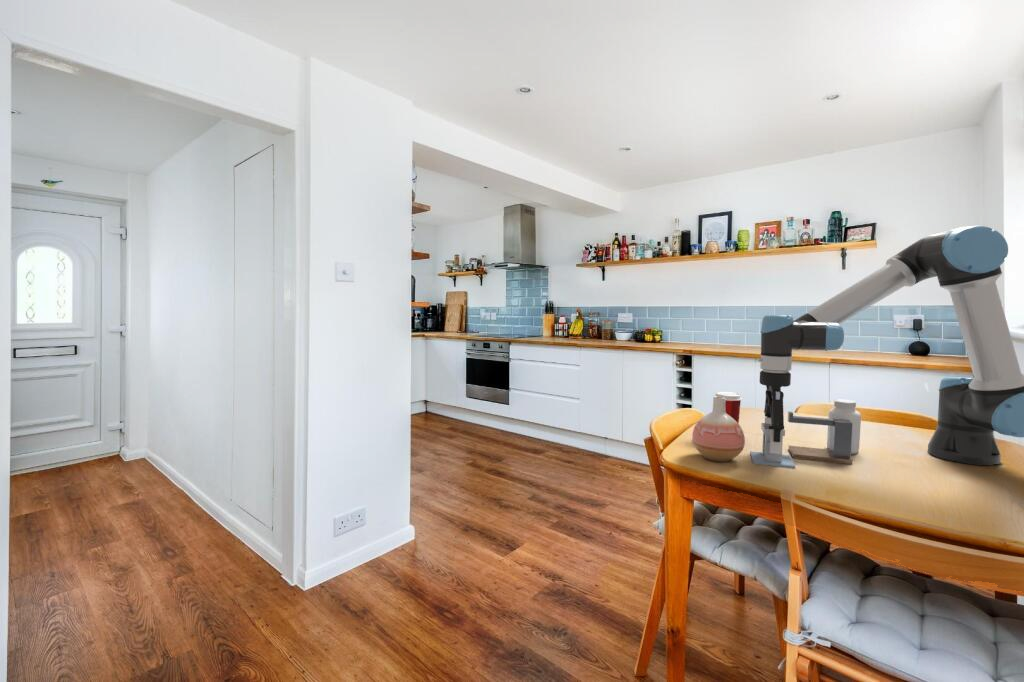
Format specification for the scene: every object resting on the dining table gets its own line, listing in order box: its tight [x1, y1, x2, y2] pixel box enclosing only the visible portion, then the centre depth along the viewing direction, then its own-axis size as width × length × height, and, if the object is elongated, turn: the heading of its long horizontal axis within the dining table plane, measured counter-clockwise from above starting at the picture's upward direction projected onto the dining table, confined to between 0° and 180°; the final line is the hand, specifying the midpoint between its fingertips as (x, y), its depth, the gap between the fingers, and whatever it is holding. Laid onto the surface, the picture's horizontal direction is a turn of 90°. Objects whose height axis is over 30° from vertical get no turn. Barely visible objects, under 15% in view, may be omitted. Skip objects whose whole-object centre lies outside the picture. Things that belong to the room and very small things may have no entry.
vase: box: [691, 395, 746, 463], centre depth 134 cm, size 14×14×18 cm
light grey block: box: [760, 422, 786, 463], centre depth 133 cm, size 5×7×9 cm
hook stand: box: [787, 411, 853, 465], centre depth 136 cm, size 15×9×12 cm, turn 68°
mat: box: [749, 450, 796, 469], centre depth 133 cm, size 10×10×1 cm
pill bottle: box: [826, 398, 862, 455], centre depth 142 cm, size 8×8×15 cm
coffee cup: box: [713, 391, 743, 425], centre depth 153 cm, size 8×8×15 cm
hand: (772, 446), depth 133 cm, fingers open, 13 cm apart
